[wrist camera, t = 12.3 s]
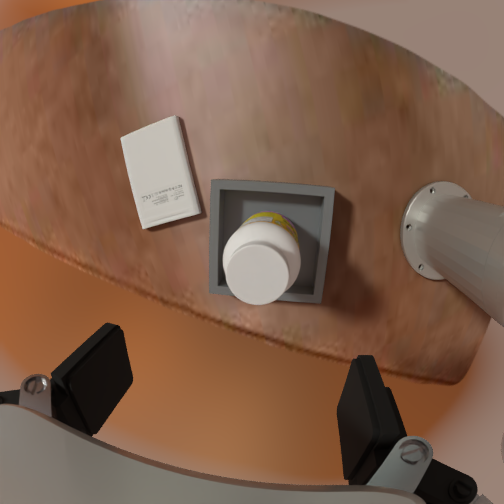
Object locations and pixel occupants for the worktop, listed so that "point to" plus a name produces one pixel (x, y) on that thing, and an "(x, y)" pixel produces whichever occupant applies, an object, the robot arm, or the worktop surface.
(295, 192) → the tray
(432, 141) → the worktop surface
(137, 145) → the external hard drive
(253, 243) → the supplement bottle
